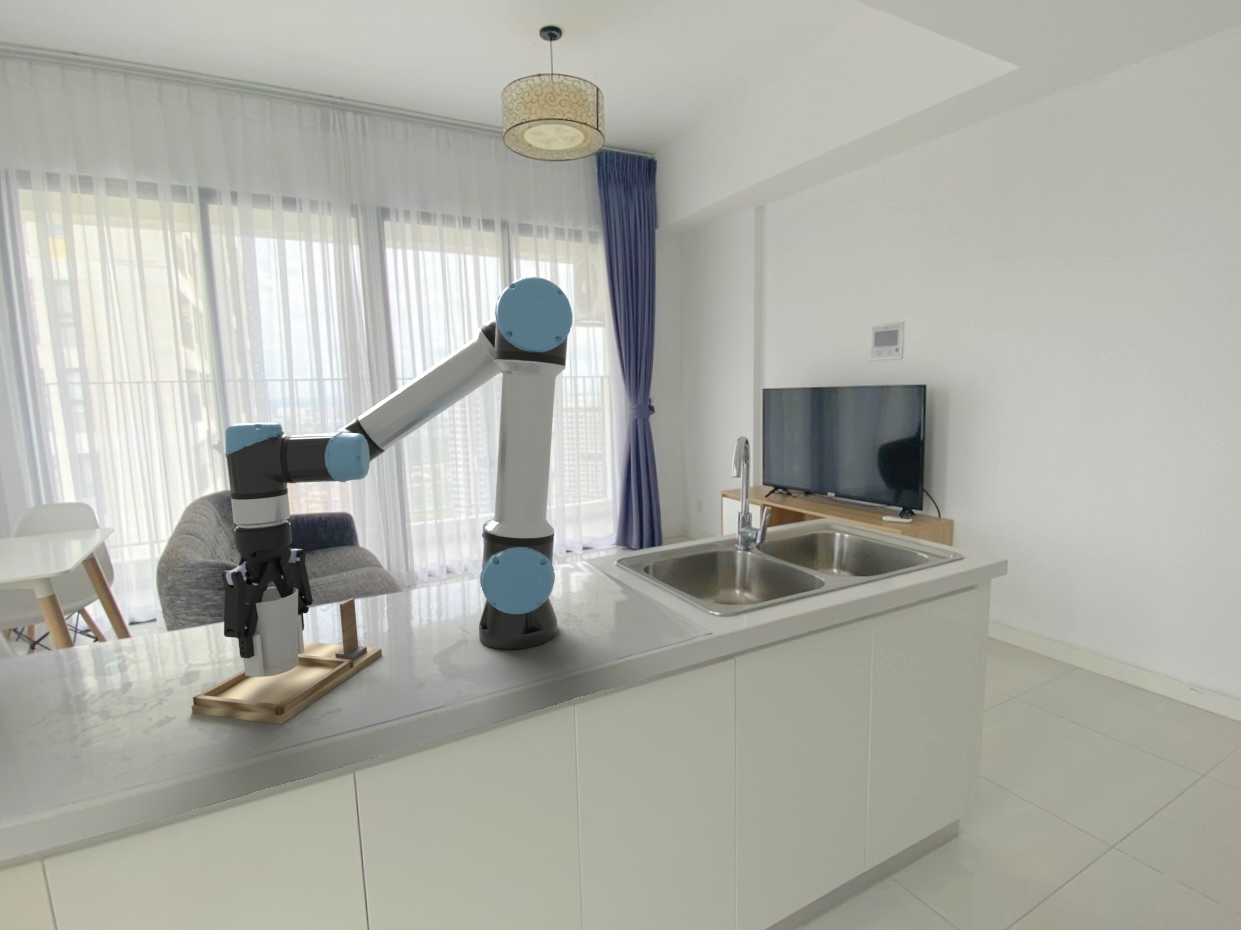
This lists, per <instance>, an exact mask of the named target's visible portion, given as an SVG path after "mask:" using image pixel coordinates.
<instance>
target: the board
mask: <svg viewBox="0 0 1241 930" xmlns="http://www.w3.org/2000/svg"><path fill="white" fill-rule="evenodd" d="M355 601H356V600H355V598H353V597H351V598H349V599H347V600H344V601H343V602H341V603H339V612H340V613H339V614H340V624H341V635H342V636H341V638H342V644H336V643H335V644H332V643H320V642H309V641H307V642H305V643H304V653H302V654H298V660H299V663H298V665H297V666H296V667H295V668H293V669H292V670H290V671H287V672H285V673H282V674H278V675H274V676H267V677H253V676H245V669H243V670H241V671H239V672H238V673H236V674H234V675H232V676H230V677H228V678H225V679H224V680H223V681H221V682H219V683H217V684H215V685H212V686H211V687H209V688H207V689H206V690H204V691H202V692H201V693H198V694H197V695H194V696H193V697H192V703H193V704H192V705H191V712H192V714H196V715H198V714H199V715H205V716H213V717H220V718H228V719H235V720H236V719H237V720H245V721H252V722H258V723H268V724H275V725H282V724H284V723H286V721H288V720H289V719H291V718H292V717H294V716H296V715H297V714H298V713H300V712H301V711H303V710H304V709H305V708H307V707H308V706H310V705H312V704H313V703H315V701H317V700H318V699H320V698H321V697H323V696H325V695H326V694H328V693H329V692H330V691H332V690H333V689H335V688H337V687H338V686H339V685H340V684H342V683H344V682H345V681H346V680H347V679H349V678H350V677H352V676H353V675H355V674H356V673H358V672H359V671H360V670H362V669H364V668H365V667H367V666H368V665H369V664H371V663H372V662H374V661H375V660H377V659H378V658H380V657H381V656H382V655H383V653H382V648H379V647H369V646H368V647H367V645H366V646H364V645H359V639H358V627H357V615H356V603H355Z"/></svg>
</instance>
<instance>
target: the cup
mask: <svg viewBox="0 0 1241 930" xmlns="http://www.w3.org/2000/svg"><path fill="white" fill-rule="evenodd" d="M246 604H249V603H246ZM256 608H257V613H258V621H257V626H256V630H255V634H260V638H261V648H262V659H263V669H264V675H263V676H261V677H267V676H274V675H278V674H282V673H285V672H287V671H290V670H292V669H293V668H295V667H296V666H297V665H298V663H299V660H298V589H297V588H295V587H294V588H293V594H292V595H290V596H287V597H285V598H281V596H280V594H279V592H278V590H277V588H276V586H275V587H274V586H272V587H267V590H265V591H264V593H263V598H262V602H261V603H256ZM245 629H247V627H245Z"/></svg>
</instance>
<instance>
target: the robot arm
mask: <svg viewBox="0 0 1241 930" xmlns="http://www.w3.org/2000/svg"><path fill="white" fill-rule="evenodd" d="M494 307H495V310H494V316H493V317H492V318H491V319H489V320H488V321H486V323H485V324H483V325H481V326H480V327H478V328H477V330H476V335H475V338H473V339H472V340H471V339H470V341H468V342H467V343H466V344H464V345H463V346H461V347H460V348H459V349H457V350H455V351H453V352H452V353H451V354H449V355H448V356H446V357H445V358H443V359H442V360H441V361H439V362H438V363H436V364H435V365H433V366H432V367H430V368H428V369H427V370H426V371H423V373H421V374H419V375H418V376H416V377H415V378H414V379H413V380H411V381H409V382H408V383H406V384H405V385H404V386H402V387H401V388H399V389H397V390H396V391H395V392H393V393H392V394H390V395H389V396H387V397H385V399H383V400H381V401H380V402H378V403H377V404H376V405H373V406H372V407H370V409H368V410H367V411H365V412H363V413H362V414H361V415H359V416H358V417H356V418H355V419H353V420H352V421H350V422H349V423H347V424H346V425H344V426H342V427H341V428H339V429H338V430H335V431H331V432H327V433H326V432H325V433H314V434H312V433H311V434H296V435H294V434H285V433H284V432H285V431H283V427H282V425H281V424H280V423H278V422H251V423H249V422H247V423H234V424H230V425H229V426H228V427H227V428H226V429H225V453H224V456H225V458H226V464H227V472H228V473H227V475H228V481H229V489H230V502H231V512H232V521H233V524H235V525H237V526H235V527H234V529H233V533H234V541H235V542H234V543H235V549H236V550H237V552H238V553H239V554H240V559H239V563H238V566H237V567H235V568H233V569H231V570H223V571H222V572H221V579H222V581H223V585H224V613H223V615H224V617H223V618H224V619H223V636H224V637H226V638H234V639H235V638H236V639H238V648H239V656H240V658H241V659H243V664H244V670H245V676H253V677H261V676H263V675H264V669H263V659H262V648H261V638H260V634H255V630H256V626H257V621H258V613H257V608H256V603H261V602H262V598H263V593H264V591H265V590H267V588H269V584H270V583H271V582H273V584H274V586H275V587H276V588H277V590H278V592H279V594H280V596H281V598H285V597H287V596H290V595H292V594H293V588H294V587H295V588H297V589H298V654H302V653H304V633H303V631H304V629H305V620H304V619H305V617H304V614H307V613H309V610H310V607H309V606H312V605H313V603H314V600H313V595H312V591H311V586H310V580H309V576H308V570H307V567H306V566H307V565H306V553H307V551H306V550H305V549H304V548H303V549H302V548H290V547H289V546H290V545H291V544H292V542H293V535H292V525H291V524H292V523H291V522H290V521H289V520H288V519H290V518H291V511H290V501H289V489H288V484H296V483H321V482H322V483H324V482H326V483H328V482H329V483H330V482H339V483H345V482H349V481H356V480H357V481H358V480H363V479H364V478H366V477H367V475H368V472H369V469H370V463H371V461H372V462H373V460H375V459H377V458H378V457H379V456H381V455H383V453H385V452H386V451H387V450H389V449H390V448H392V447H393V446H395V445H396V444H398V443H399V442H400V441H402V440H403V439H405V438H407V437H408V436H409V435H411V434H412V433H414V432H415V431H417V430H418V429H420V428H422V426H424V425H426V424H427V423H428V422H430V421H431V420H433V419H434V418H436V417H438V415H440V414H441V413H443V412H444V411H446V410H448V409H449V408H450V407H452V406H453V405H455V404H456V403H458V402H459V401H461V400H462V399H464V398H465V397H466V396H468V395H469V394H471V393H472V392H474V391H476V390H477V389H479V388H480V387H481V386H483V385H484V384H486V383H487V382H488V381H490V380H491V379H493V378H494V377H496V376H497V375H499V374H500V373H502V381H501V382H502V383H501V396H500V397H501V398H500V399H501V400H500V416H499V417H500V418H499V433H498V434H499V435H498V436H499V437H498V451H497V468H496V469H497V471H496V485H495V486H496V487H495V501H494V502H495V504H494V506H495V507H494V517H493V518H492V519H488V520H486V521H485V522H484V523H483V525H482V533H481V537H482V539H483V541H482V542H483V551H482V565H481V567H482V568H481V572H480V577H479V583H480V587H481V591H482V592H483V595H484V598H485V602H484V606H483V609H482V613H481V616H480V621H479V624H478V637H479V641H480V642H481V643H482V644H483V645H485V646H488V647H490V648H494V649H501V650H518V649H519V650H520V649H527V648H531V647H535V646H539V645H542V644H545V643H546V642H549V641H550V640H551V639H553V638H554V637H555V636H557V633H558V630H559V629H558V619H557V618H558V617H557V615H556V613H555V610H554V607H553V605H552V603H551V600H550V599H551V598H550V596H551V594H552V592H553V589H554V584H555V580H556V574H555V573H556V572H555V568H554V566H553V556H554V544H555V543H554V542H555V541H554V540H555V528H554V527H553V526H552V525H551V524H550V523H549V521H548V520H547V514H548V513H547V511H548V499H549V498H548V497H549V496H548V494H549V484H550V483H549V482H550V466H551V465H550V464H551V450H552V439H553V438H552V436H553V435H552V434H553V422H554V421H553V419H554V404H555V403H554V402H555V388H556V378H557V376H559V374H561V373H562V372H563V371H564V370H565V369H566V366H567V365H566V364H567V351H568V349H567V348H568V338H569V337H568V336H569V333H570V332H571V329H572V326H573V311H572V306H571V304H570V301H569V298H568V297H567V295H566V294H565V293H564V291H563V290H562V289H561V288H560V287H559V286H558V285H557V284H555V283H554V282H553V281H550V280H549V279H546V278H543V277H539V276H537V277H536V276H527V277H526V276H525V277H522V278H519V279H516V280H514V281H513V282H511V283H510V284H509V285H507V286H506V287H505V288H504V289H503V290H502V292H501V293H500V295H499V297H498V298H497V302H496V304H495V306H494ZM246 603H249V604H246ZM245 627H247V629H245Z"/></svg>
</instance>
